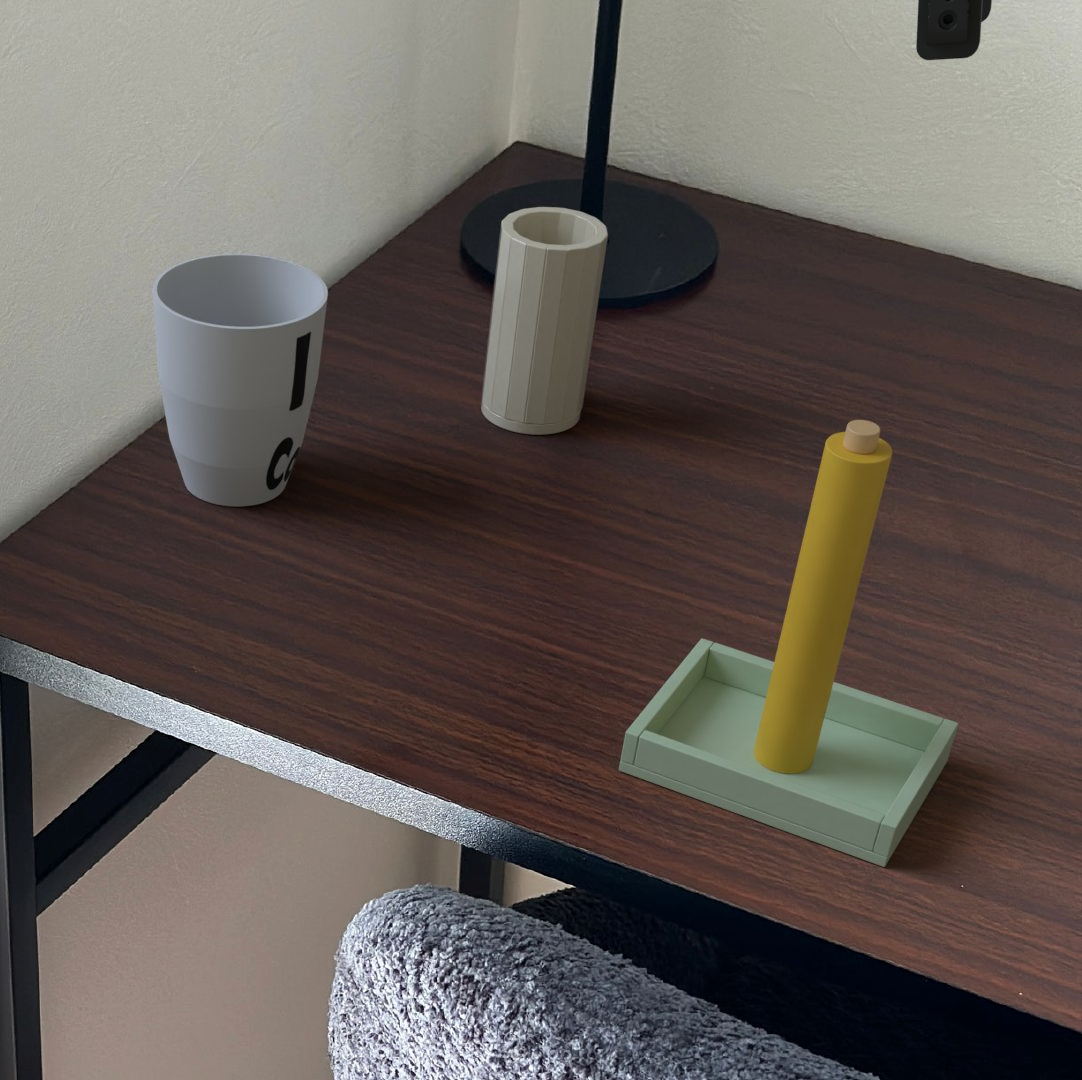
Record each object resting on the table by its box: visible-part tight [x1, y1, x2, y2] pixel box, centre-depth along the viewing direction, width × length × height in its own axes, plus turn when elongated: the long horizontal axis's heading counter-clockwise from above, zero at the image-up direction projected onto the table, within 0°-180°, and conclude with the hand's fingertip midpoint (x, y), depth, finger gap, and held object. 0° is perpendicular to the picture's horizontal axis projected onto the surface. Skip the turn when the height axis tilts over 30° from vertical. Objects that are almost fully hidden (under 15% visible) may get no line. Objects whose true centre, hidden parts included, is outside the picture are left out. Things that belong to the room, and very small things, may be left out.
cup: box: [152, 253, 329, 507], centre depth 99 cm, size 8×8×10 cm
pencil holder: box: [480, 206, 609, 436], centre depth 106 cm, size 5×5×10 cm
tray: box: [618, 638, 960, 868], centre depth 85 cm, size 11×8×2 cm
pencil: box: [754, 419, 893, 774], centre depth 81 cm, size 2×2×15 cm
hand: (954, 39), depth 81 cm, fingers open, 8 cm apart
